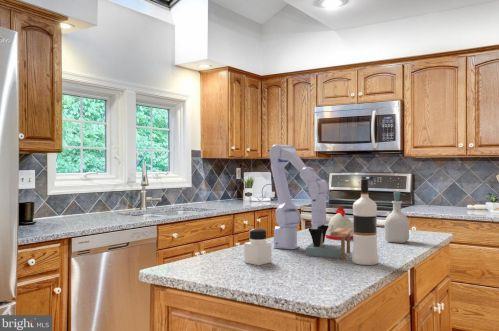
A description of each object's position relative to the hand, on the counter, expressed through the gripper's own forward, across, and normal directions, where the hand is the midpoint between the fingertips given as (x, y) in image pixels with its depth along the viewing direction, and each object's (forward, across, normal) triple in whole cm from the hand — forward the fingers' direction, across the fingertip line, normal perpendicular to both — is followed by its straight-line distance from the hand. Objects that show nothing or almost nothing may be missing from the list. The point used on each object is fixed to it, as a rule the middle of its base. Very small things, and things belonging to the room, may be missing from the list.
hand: (318, 245), depth 170 cm
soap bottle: (+4, +39, -27) cm, 48 cm away
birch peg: (+3, 0, 0) cm, 3 cm away
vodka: (+4, -10, -19) cm, 22 cm away
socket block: (+3, 0, -2) cm, 4 cm away
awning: (+3, 0, -9) cm, 10 cm away
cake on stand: (+4, +41, -1) cm, 41 cm away
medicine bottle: (+4, -23, +17) cm, 29 cm away
